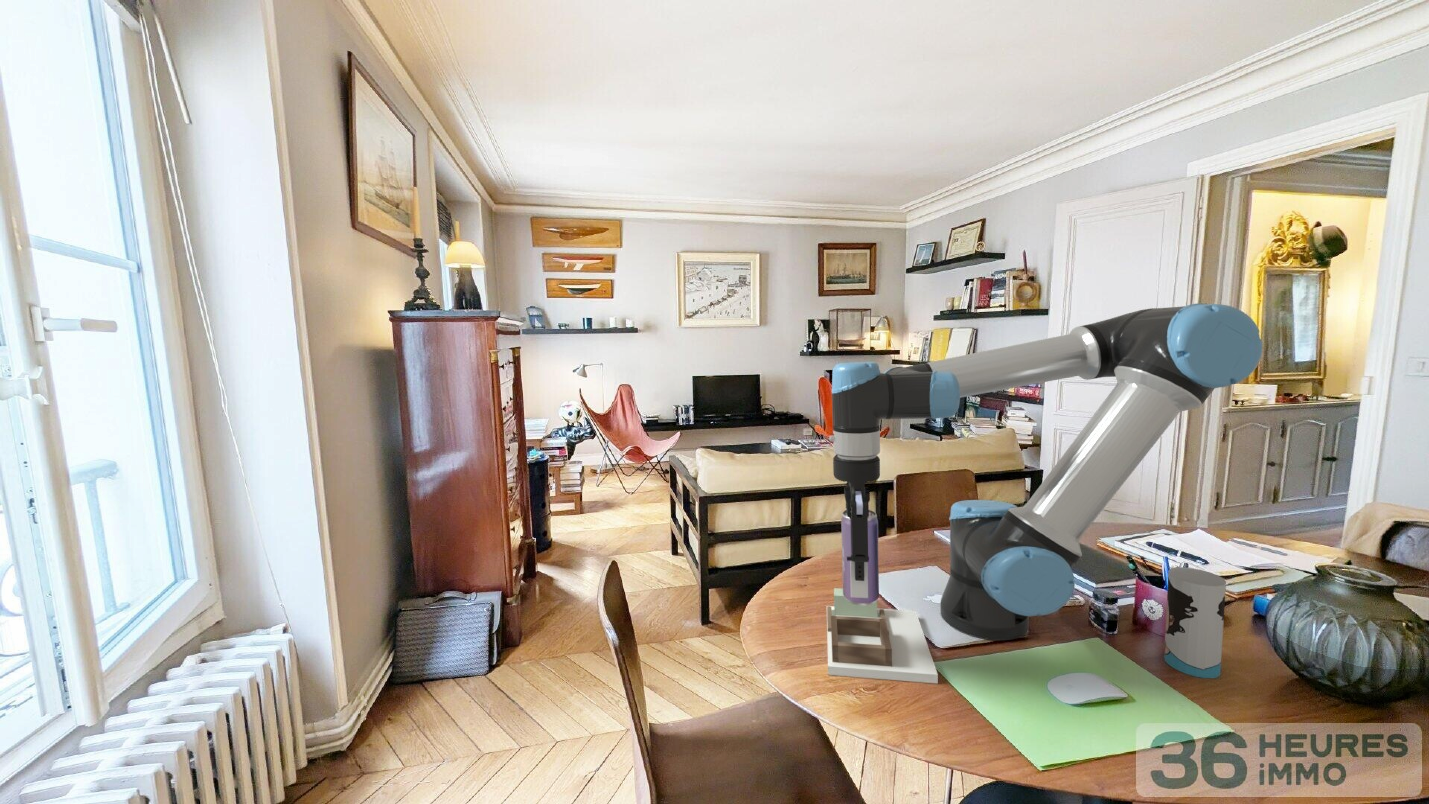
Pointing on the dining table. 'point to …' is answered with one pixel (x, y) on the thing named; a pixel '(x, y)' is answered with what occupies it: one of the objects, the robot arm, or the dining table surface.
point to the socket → (860, 652)
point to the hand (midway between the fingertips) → (857, 587)
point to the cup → (1194, 621)
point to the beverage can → (872, 564)
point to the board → (906, 650)
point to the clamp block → (852, 606)
